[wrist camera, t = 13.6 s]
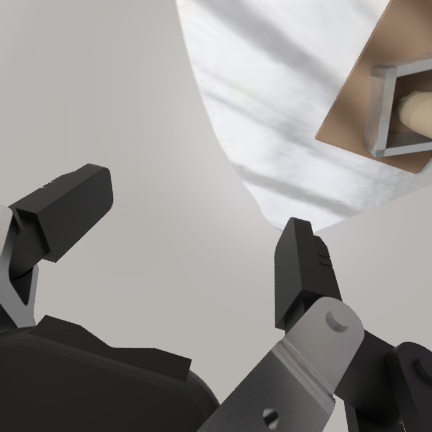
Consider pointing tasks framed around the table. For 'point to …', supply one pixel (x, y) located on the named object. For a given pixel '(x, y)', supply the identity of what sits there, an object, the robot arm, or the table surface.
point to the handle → (416, 112)
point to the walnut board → (421, 81)
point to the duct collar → (382, 104)
